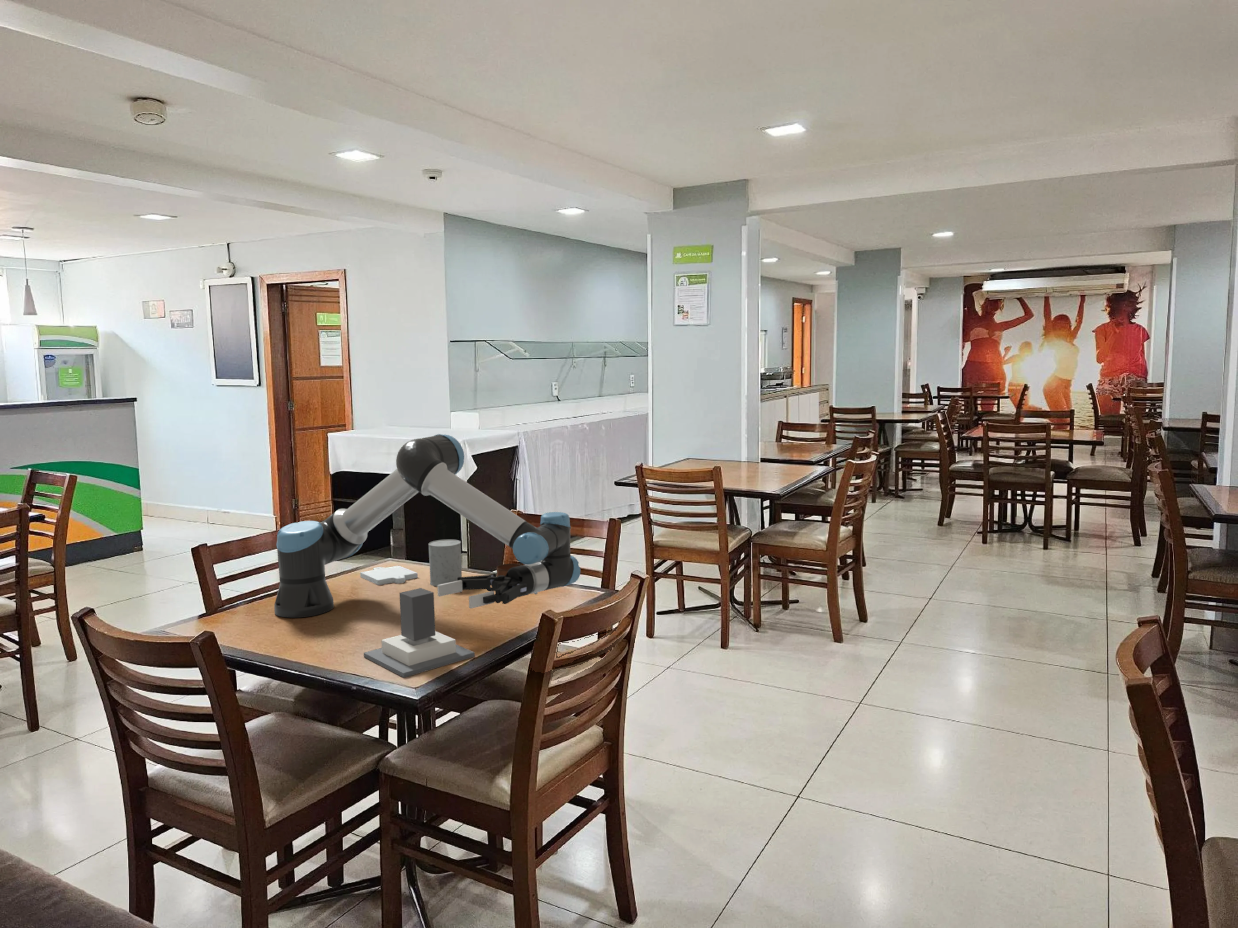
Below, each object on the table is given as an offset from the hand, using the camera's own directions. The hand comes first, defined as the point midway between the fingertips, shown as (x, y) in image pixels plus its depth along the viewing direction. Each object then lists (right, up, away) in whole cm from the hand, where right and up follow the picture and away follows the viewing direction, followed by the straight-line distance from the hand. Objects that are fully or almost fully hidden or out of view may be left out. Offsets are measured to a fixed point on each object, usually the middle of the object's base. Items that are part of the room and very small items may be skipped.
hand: (453, 596), depth 201 cm
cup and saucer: (+7, -5, +53) cm, 53 cm away
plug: (-7, -12, -6) cm, 15 cm away
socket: (-7, -13, -6) cm, 16 cm away
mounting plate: (-33, -5, +65) cm, 73 cm away
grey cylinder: (-13, -5, +58) cm, 60 cm away
